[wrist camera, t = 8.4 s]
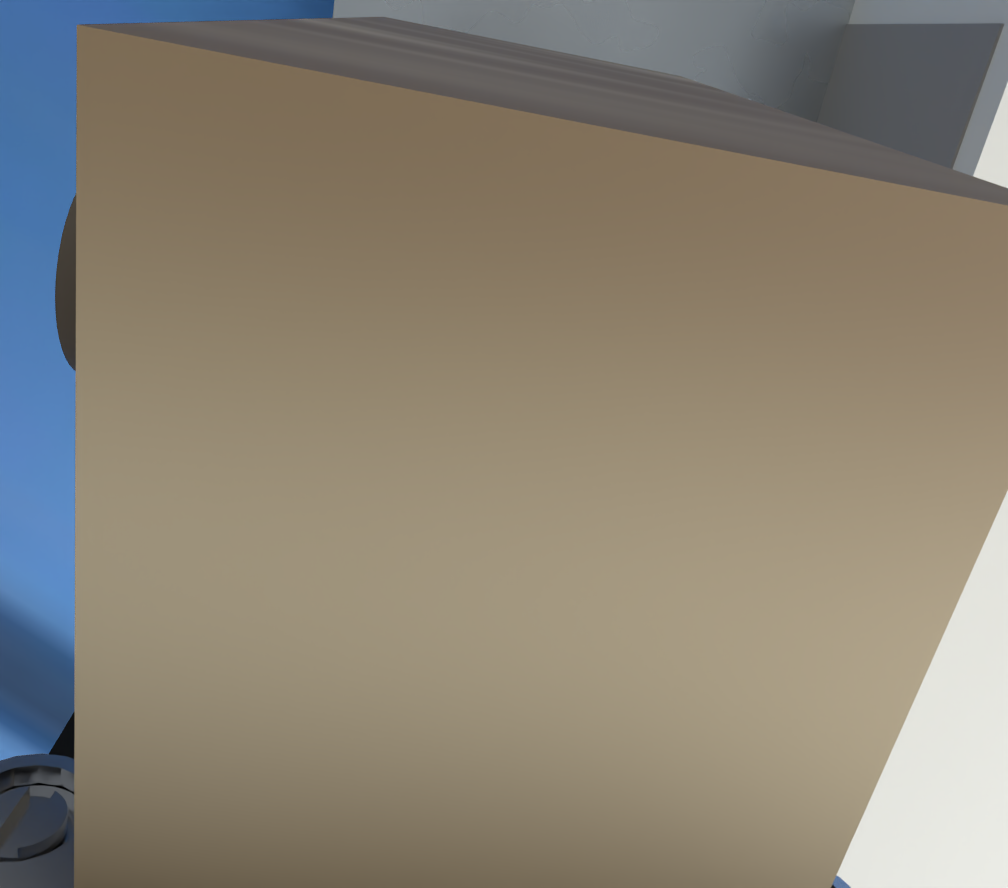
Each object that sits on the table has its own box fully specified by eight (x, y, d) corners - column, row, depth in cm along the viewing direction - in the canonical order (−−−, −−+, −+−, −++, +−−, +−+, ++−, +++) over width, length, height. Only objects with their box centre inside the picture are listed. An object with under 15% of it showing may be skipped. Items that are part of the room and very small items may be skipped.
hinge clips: (646, 646, 32) (668, 739, 27) (280, 589, 31) (246, 677, 27) (841, -19, 24) (912, -28, 20) (356, -121, 23) (325, -153, 19)
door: (494, 842, 18) (490, 1652, 9) (222, 806, 18) (-60, 1616, 9) (680, 76, 13) (1124, 227, 4) (291, -3, 12) (-274, -43, 3)
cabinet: (908, 685, 32) (1070, 948, 23) (645, 645, 32) (704, 899, 22) (1180, 52, 24) (1589, 68, 15) (839, -20, 24) (1051, -48, 15)
